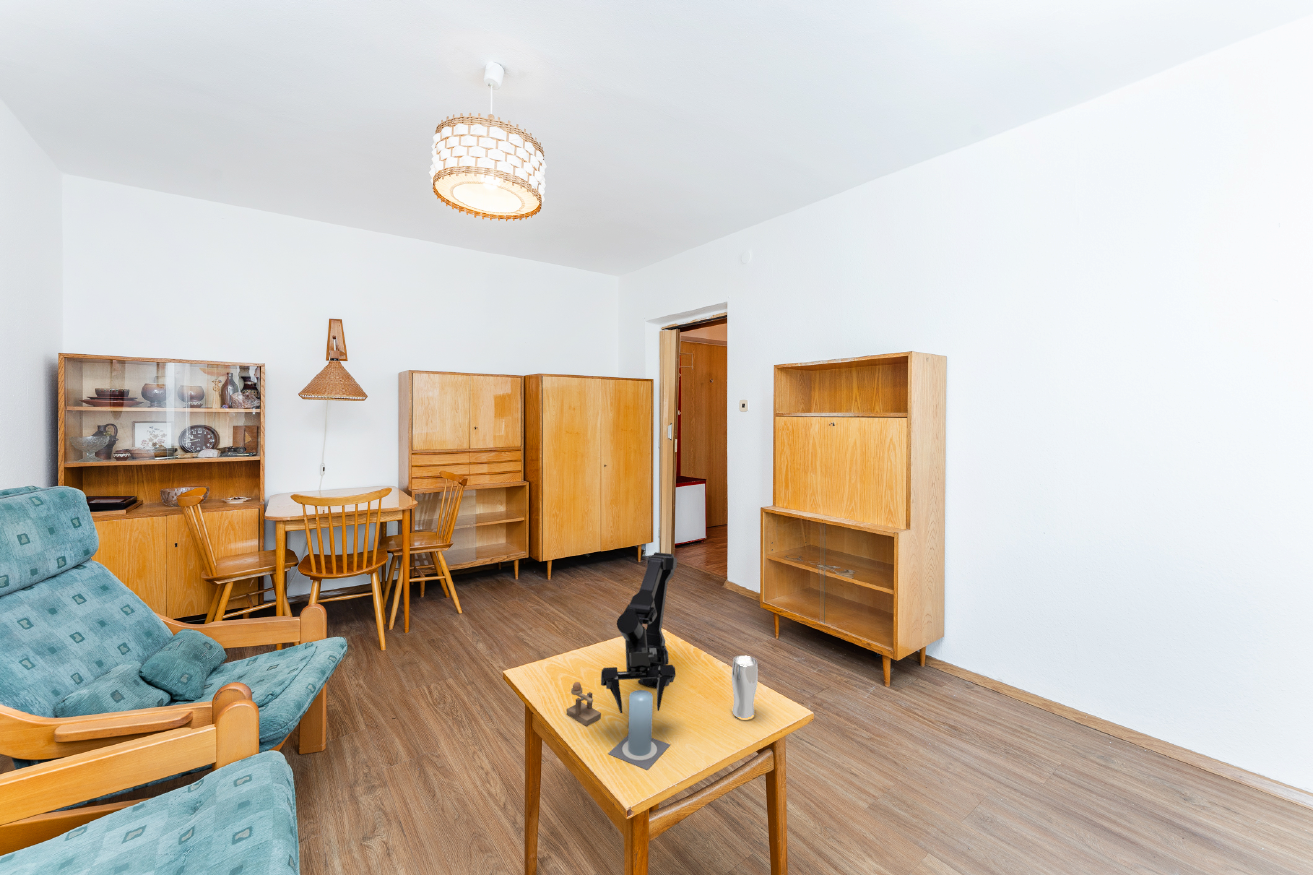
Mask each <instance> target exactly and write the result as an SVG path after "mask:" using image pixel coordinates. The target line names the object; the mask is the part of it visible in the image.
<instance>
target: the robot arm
mask: <svg viewBox="0 0 1313 875" xmlns="http://www.w3.org/2000/svg"><path fill="white" fill-rule="evenodd" d="M677 567H678V558H677V557H675V554H673V553H665V552H654V553H653V554H651V555H648V556H647V567H646V570H645V573H644V576H643V579H642V582H641V583H640V584H641V585H640V588H639V591H638V592H636V594H634V595H633V596H632V597H631V600H630V602H629V604H628V605H626V608H625V610H624V611H623V612H622V613H621V615H620V616H619V617H618V618H617V620H616V627H617V629H618V631H619V633H620V634H621V636H622V638H623V639H624V641H625V643H624V644H625V663H626V664H625V665H626V666H625V667H626V671H618V667H615V666H614V667H612V666H611V667H603V668H602V669H601V672H600V685H601V686H603V687H605V689H607V690H610V692H611V694H612V695H613V697H614V700H615V702H616V705H617V708H618V710H619V712H620V714H622V713H623V703H622V702H623V701H622V696H621V695H622V694H621V689H620V688H621V687H620V681H622V680H638V681H637V683H638V684H640V685H645V686H646V687H647V686H648V687H650V688H654V689H656V709H657V710H656V711H657V712H659V711H660V710H661V704H662V699H663V695H664V690H665V687H668V686H670V683H673V682H674V680H675V677H676V676H677V674H676V668H675V666H674V665H673V664H669V651H668V649H667V646H666V639H665V636H664V633H663V632H662V630H663V622H664V614H665V607H666V606H665V605H666V599H667V592H668V583H669V582H670V581H671V579H672V578H673V577H674V575H675V570H676V569H677ZM644 625H646V628H645V626H644Z"/></svg>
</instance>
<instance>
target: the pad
mask: <svg viewBox="0 0 1313 875" xmlns="http://www.w3.org/2000/svg"><path fill="white" fill-rule="evenodd" d="M670 746H671V743H667V742H664V741H661V740H659V739H657V738H654V737H652V739H651V751H650V753H648V754H647V755H644V756H636V755H633V754H631V753H630V752H629V751H628V734H627V735H626V736H625V737H624V738H623V739H622V740H621V741H619V743H618V744H616V746H614V747H613V748H612V749H611V750H610V751H609V752H608V753H607V755H609V756H613V757H615V758H616V759H620V760H622V761H624V762H627V763H629V764H631V765H634V766H637V767H638V768H641V769H643V770H646V771H648V770H649V769H651V767H652V766H653V765H654V763H656V761H658V759H659V758H660V757H661V756H662V755H663V754H664V752H666V750H667V749H668V748H669V747H670Z"/></svg>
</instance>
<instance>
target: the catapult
mask: <svg viewBox="0 0 1313 875" xmlns="http://www.w3.org/2000/svg"><path fill="white" fill-rule="evenodd" d="M570 694H571V695H574V696H576V697H577V698H576V699H575V704H573V705H572V706H569V707H568V708H566V715H567V716H568V717H570V718H572V719H573V720H575V721H577V722H579V723H580V724H582V725H584V726H586V727H588V726H590V725H592V724H594V723H595V722H597V721H599V720H601V718H602V712H601V711H599V710H597V709H594V708H593V702H594V699H593V692H591V691H589V692H587V693H586V694H585V693H583V687H582V685H581V683H580V682H579V681H575V682H574V683H573V684H572V688H571V690H570ZM583 701H586V703H584V702H583Z"/></svg>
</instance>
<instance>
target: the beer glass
mask: <svg viewBox="0 0 1313 875" xmlns="http://www.w3.org/2000/svg"><path fill="white" fill-rule="evenodd" d="M758 668H759V667H758V660H757V659H756V658H755V657H753V656H750V655H736V656H734V657H733V659H732V668H731V669H732V670H731V682H732V684H731V686H732V692H733V705H732V709H731V710H732V711H731V712H733V714H734V715H735V716H736V717H741V718H748V717H751V716H752V715H754V712H755V706H754V705H755V704H754V702H755V697H756V696H755V695H756V691H757V686H758V679H759V671H758ZM733 714H732V715H733Z"/></svg>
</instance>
